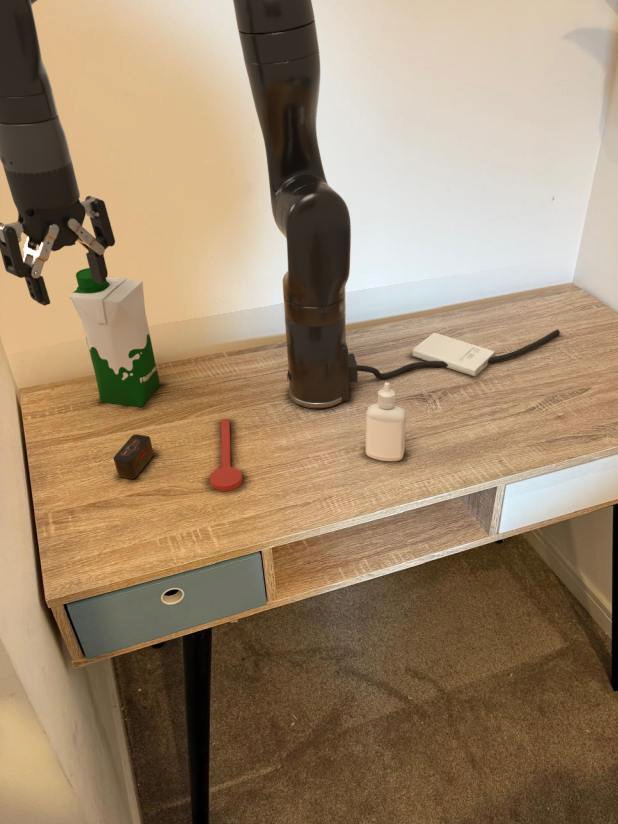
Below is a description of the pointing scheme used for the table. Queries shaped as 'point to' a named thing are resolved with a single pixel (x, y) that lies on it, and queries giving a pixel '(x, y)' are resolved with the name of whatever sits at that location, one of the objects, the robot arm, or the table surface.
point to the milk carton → (117, 338)
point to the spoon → (225, 464)
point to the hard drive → (454, 353)
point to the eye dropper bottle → (385, 427)
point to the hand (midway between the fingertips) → (72, 292)
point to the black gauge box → (133, 456)
